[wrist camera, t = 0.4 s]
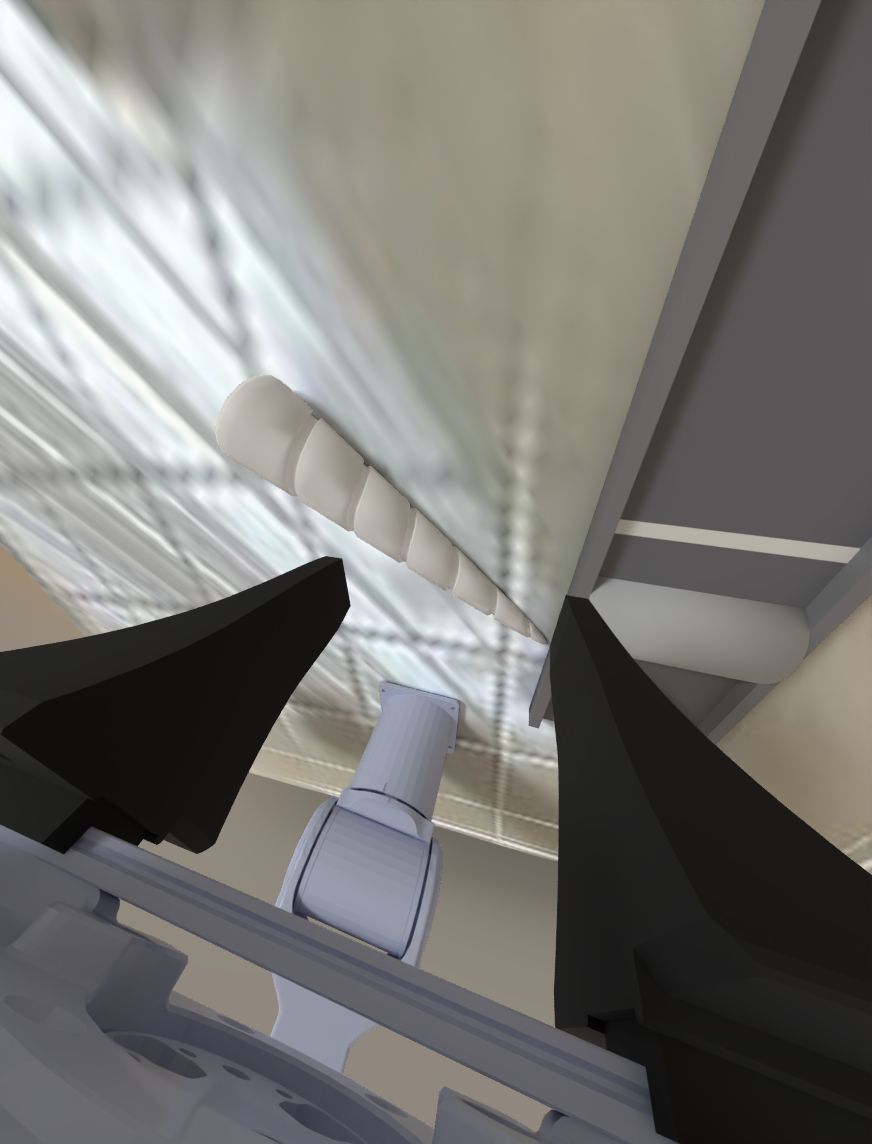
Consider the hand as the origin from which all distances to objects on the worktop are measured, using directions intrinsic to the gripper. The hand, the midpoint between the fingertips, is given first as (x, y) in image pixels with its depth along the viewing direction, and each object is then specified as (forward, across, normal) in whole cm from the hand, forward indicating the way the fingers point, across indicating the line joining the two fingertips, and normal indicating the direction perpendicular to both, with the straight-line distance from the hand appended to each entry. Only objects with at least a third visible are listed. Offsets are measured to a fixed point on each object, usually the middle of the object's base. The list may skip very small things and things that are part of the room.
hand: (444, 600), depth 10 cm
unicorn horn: (+10, +4, +2) cm, 11 cm away
